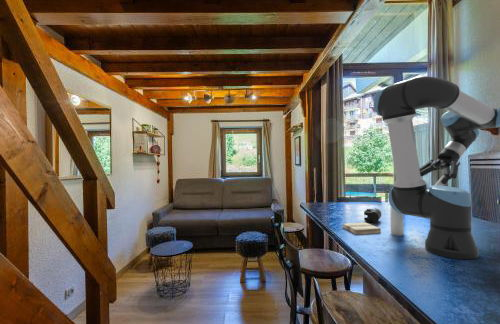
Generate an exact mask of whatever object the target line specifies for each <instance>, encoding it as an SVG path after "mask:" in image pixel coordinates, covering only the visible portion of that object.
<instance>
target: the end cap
mask: <svg viewBox="0 0 500 324" xmlns="http://www.w3.org/2000/svg"><path fill="white" fill-rule="evenodd" d="M363 215H364V216H367V217H363V220H364V221H363V222H366V223H368V224H371V225H375V224H377V223H378V222H379V220H380V219H381V217H382V211H381V210H380V209H378V208H372V209H371V208H366V209H365V210H364V212H363Z"/></svg>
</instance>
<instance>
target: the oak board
mask: <svg viewBox="0 0 500 324" xmlns="http://www.w3.org/2000/svg"><path fill="white" fill-rule="evenodd" d="M342 228H343V229H345V230H347V231H348V232H350V233H353V234H354V235H367V234H380V233H382V231H381V230H382V229H381V227H377V226H375V225H374V224H369V223H366V222H365V221H362V222H350V223H349V222H348V223H345V222H344V223H342Z"/></svg>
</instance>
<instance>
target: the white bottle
mask: <svg viewBox="0 0 500 324" xmlns="http://www.w3.org/2000/svg"><path fill="white" fill-rule="evenodd" d="M389 209H390V213H389V215H390V217H389V218H390V234H391V235H392V236H393V235H394V236H399V237H400V236H404V235H405V232H404V229H405V228H404V227H405V226H404V214H402V213H398V212H396V211H395V210H394V209H393V208H392V207H391V206H390V207H389Z"/></svg>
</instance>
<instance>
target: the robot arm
mask: <svg viewBox="0 0 500 324" xmlns="http://www.w3.org/2000/svg"><path fill="white" fill-rule="evenodd" d="M426 108H434V109H436V110H445V111H447V112H445V113H443V114H442V115H441V117H440V121H441V124H442V125H443V127H444V128H445V130H446V132H447V133H448V135H449V137H450V138H451V139H449V141H448V142H447V143H446V145H445V146H444V147H443V149H442V150H440V152H439V153H438V155H437V159H436V160H434V159H429V160H428V161H427V163H425V164H424V165H423V166H421V167H420V165H419V164H420V163H419V158H418V156H419V155H418V151H417V144H416V138H415V130H414V123H413V119H414V118H415V116H416V115H417V110H420V109H426ZM373 109H374V112H375V113H376V115H378V116H379V117H382V121H383V122H384V123H385V124H387V128H388V129H387V130H388V137H389V142H390V148H391V154H392V161H393V167H394V172H395V181H394V182H393V183H392V187H391V188H390V189H389V191H388V194H387V195H388V196H387V197H388V202H389V206H390V207H392V208H393V209H394V210H395V211H396V212H398V213H402V214H403V215H405V216H413V217H418V218H423V219H428V220H429V231H428V233H427V237H426V239H425V241H424V249H425V250H426V251H428V252H430V253H432V254H434V255H438V256H441V257H444V258H451V259H456V260H475V259H478V258H479V257H480V253H479V252H480V251H479V250H480V249H479V248H478V246H477V245H476V242H475V239H474V236H473V233H472V205H473V204H472V201H471V193H469V191H467V190H465V189H463V188H459V187H455V186H448V185H446V184H447V183H448V182H449V181H450V180H451V179H457V176H458V172H459V171H458V170H459V166H460V165H461V162H460V161H459V160H460V158H461V157H462V156H463V155H464V154H465V152H466V151H467V150H468V148H469V147H470V146H471V145H472V144H474V143H475V141H476V139H477V138H478V136H479V135H480V131H479V130H484V129H493V128H494V129H495V128H500V107H496V108H493V107H492V106H489V105H488V104H486V103H484V102H482V101H480V100H479V99H476V98H474V97H473V96H470V95H469V94H467V93H465V92H464V91H462V90H461V89H460V87H459V85H457V84H456V83H454V82H452V81H450V80H447V79H444V78H441V77H436V76H430V75H427V76H425V75H424V76H423V75H421V76H415V77H412V78H409V79H406V80H402V81H399V82H396V83H392V84H389V85H387V86H385V87H383V88H380V89H379V90H378V91H377V92H376V94H375V95H374V98H373ZM437 170H443V171H444V173H443V174H444V175H441V176H440V178H439V179H438V180H437V181H436V183H435V184H434V185H430V186H429V187H428V186H427V181H426V180H424V179H423V177H424V176H426V175H428V174H429V173H432V172H434V171H437Z"/></svg>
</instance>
